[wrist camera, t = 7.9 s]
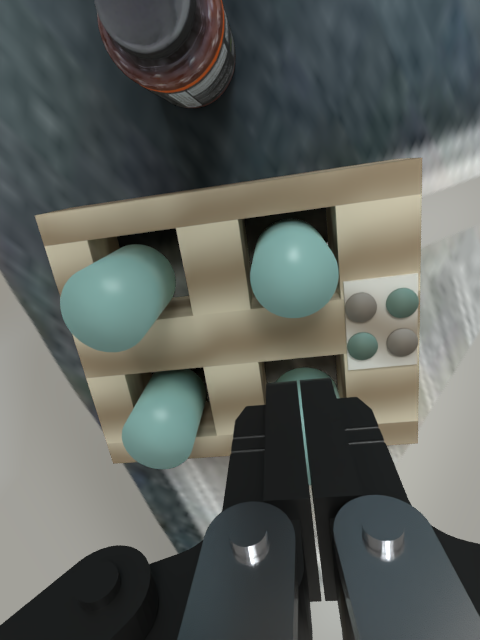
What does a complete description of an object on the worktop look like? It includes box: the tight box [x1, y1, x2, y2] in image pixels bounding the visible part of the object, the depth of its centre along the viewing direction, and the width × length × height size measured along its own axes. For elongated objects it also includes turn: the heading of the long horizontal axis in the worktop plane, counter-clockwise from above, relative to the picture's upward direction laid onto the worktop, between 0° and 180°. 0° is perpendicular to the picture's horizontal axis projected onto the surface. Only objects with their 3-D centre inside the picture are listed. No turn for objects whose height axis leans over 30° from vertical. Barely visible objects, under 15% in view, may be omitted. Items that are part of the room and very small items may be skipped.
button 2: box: [60, 244, 176, 352], centre depth 24 cm, size 5×5×6 cm
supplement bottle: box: [94, 0, 235, 108], centre depth 21 cm, size 6×6×11 cm
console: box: [35, 158, 422, 463], centre depth 30 cm, size 20×24×5 cm
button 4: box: [250, 218, 339, 318], centre depth 25 cm, size 5×5×6 cm
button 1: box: [122, 369, 207, 469], centre depth 29 cm, size 5×5×6 cm
